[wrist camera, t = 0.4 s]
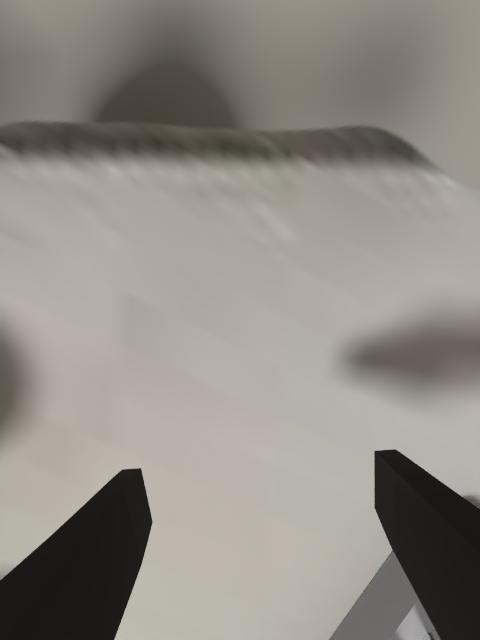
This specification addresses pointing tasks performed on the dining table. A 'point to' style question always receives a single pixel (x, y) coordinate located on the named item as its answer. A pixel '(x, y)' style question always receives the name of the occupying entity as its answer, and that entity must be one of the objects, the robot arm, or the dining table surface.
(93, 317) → the dining table surface
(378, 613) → the camera body
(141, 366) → the dining table surface
